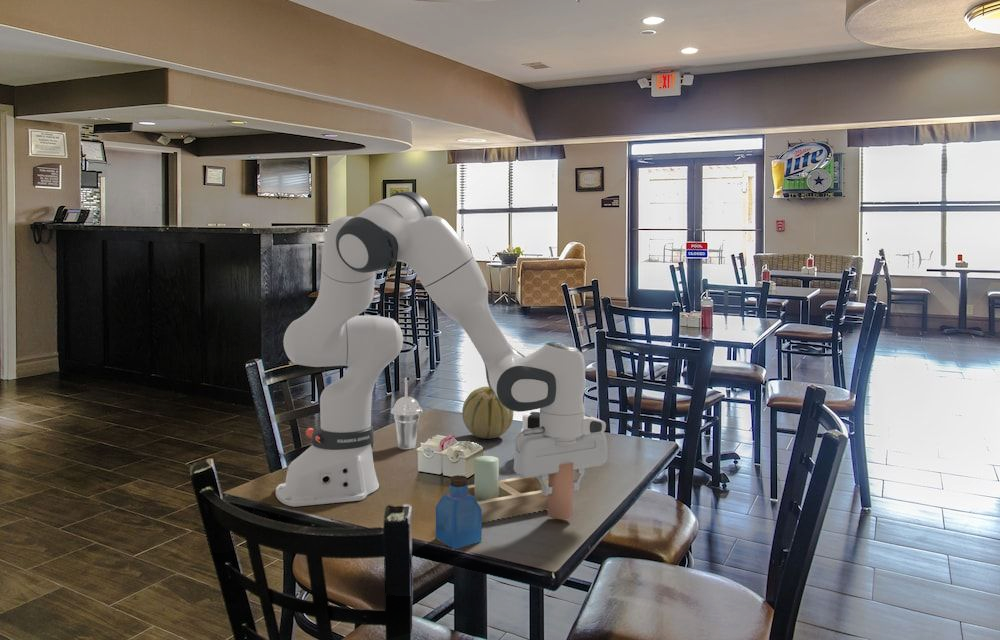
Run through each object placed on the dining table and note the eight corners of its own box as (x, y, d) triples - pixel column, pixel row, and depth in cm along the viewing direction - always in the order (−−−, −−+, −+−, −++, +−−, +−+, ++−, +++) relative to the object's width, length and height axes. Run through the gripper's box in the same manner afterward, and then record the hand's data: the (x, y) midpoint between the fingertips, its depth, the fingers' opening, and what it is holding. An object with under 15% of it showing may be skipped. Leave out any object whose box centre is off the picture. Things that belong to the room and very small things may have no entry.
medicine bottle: (548, 455, 196) (549, 410, 195) (547, 464, 189) (548, 417, 188) (521, 454, 197) (521, 409, 196) (519, 463, 190) (519, 416, 189)
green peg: (481, 516, 153) (481, 464, 152) (470, 509, 158) (470, 457, 156) (502, 512, 156) (503, 460, 154) (491, 505, 160) (491, 454, 159)
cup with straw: (427, 444, 207) (426, 372, 204) (415, 453, 198) (415, 378, 196) (398, 441, 209) (397, 370, 207) (385, 450, 200) (384, 376, 198)
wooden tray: (474, 524, 149) (474, 504, 149) (451, 506, 159) (451, 488, 158) (563, 507, 159) (564, 488, 159) (536, 491, 169) (537, 474, 168)
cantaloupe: (489, 428, 224) (489, 378, 222) (524, 438, 213) (524, 385, 212) (450, 437, 214) (450, 385, 212) (485, 447, 203) (485, 393, 202)
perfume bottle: (453, 549, 137) (453, 485, 136) (435, 538, 142) (435, 476, 141) (481, 541, 141) (481, 479, 140) (463, 531, 146) (463, 470, 145)
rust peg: (556, 520, 148) (557, 466, 147) (542, 512, 152) (543, 459, 151) (577, 516, 150) (578, 462, 149) (563, 508, 155) (564, 456, 154)
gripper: (524, 434, 142) (523, 505, 143) (612, 422, 151) (610, 489, 153) (508, 426, 147) (507, 495, 149) (594, 415, 157) (592, 479, 158)
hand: (560, 492), depth 151 cm, fingers closed on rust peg, 5 cm apart
